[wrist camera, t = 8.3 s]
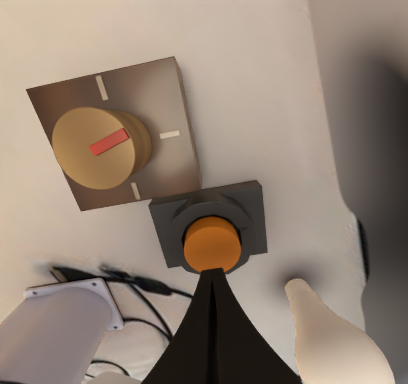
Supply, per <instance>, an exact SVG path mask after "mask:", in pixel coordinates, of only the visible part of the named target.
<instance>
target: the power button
mask: <svg viewBox="0 0 408 384" xmlns="http://www.w3.org/2000/svg"><path fill="white" fill-rule="evenodd" d="M240 254H241V246H240V242H239V239H238V236H237V232H236V230H235V228H234V227H233V225H232V224H231V223H230V222H228V221H227V220H225V219H223V218H220V217H214V216H210V217H204V218H201V219H199V220H197V221H196V222H194V223H193V224H192V225H191V226H190V227H189V229H188V231H187V234H186V239H185V246H184V255H185V258H186V261H187V262H188V264H189V265H190V266H191V267H192V268H193V269H195V270H196V271H199V272H201V271H202V270H207V269H214V268H220V267H222V268H223V269H224V272H225V271H228V270H229V269H231V268H232V267H233V266H234V265H235V264H236V263H237V261H238V260H239V257H240Z"/></svg>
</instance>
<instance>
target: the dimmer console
mask: <svg viewBox="0 0 408 384" xmlns="http://www.w3.org/2000/svg"><path fill="white" fill-rule="evenodd" d="M26 91H27V93H28V95H29V98H30V100H31V102H32V104H33V106H34V109H35V111H36V113H37V115H38V117H39V120H40V122H41V124H42V126H43V129H44V131H45V133H46V135H47V137H48V140H49V142H50V144H51V146H52V135H53V130H54V127H55V125H56V123H57V121H58V120H59V119H60V118H61V117H62V116H63V115H64V114H65V113H66V112H68V111H70V110H72V109H75V108H78V107H94V108H102V109H109V110H116V111H123V112H126V113H129V114H131V115H133V116H134V117H136V118H137V119H138V120H140V121H141V122H142V124H143V125H144V126H145V128H146V129H147V131H148V133H149V135H150V138H151V144H152V151H151V156H150V158H149V161H148V162H147V164H146V165H145V166H144V167H143V168H142V169H141V170H139V171H138V172H137V173H135V174H134V175H133V176H131V177H130V178H129V179H127V180H126V181H125V182H123V183H122V184H120V185H119V186H117V187H114V188H111V189H93V188H89V187H86V186H83V185H81V184H79V183H78V182H76V181H74V180H73V179H72V178H71V177H69V176H68V175H67V174H66V173H65V171H64V170H63V169H62V171H63V173H64V175H65V177H66V180H67V182H68V184H69V186H70V188H71V191H72V193H73V195H74V197H75V199H76V202H77V204H78V206H79V208H80V211H86V210H91V209H97V208H103V207H108V206H114V205H119V204H125V203H131V202H136V201H142V200H147V199H153V198H159V197H164V196H170V195H175V194H181V193H187V192H192V191H198V190H201V189H202V178H201V173H200V167H199V162H198V157H197V152H196V147H195V142H194V137H193V132H192V127H191V122H190V117H189V112H188V107H187V102H186V97H185V92H184V87H183V82H182V77H181V72H180V68H179V66H178V64H177V61H176V59H175V57H174V56H173V57H169V58H164V59H160V60H155V61H151V62H146V63H142V64H137V65H133V66H128V67H124V68H119V69H115V70H110V71H106V72H101V73H97V74H92V75H88V76H83V77H79V78H74V79H70V80H65V81H61V82H56V83H52V84H47V85H43V86H38V87H34V88H29V89H26ZM52 149H53V146H52Z"/></svg>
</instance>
